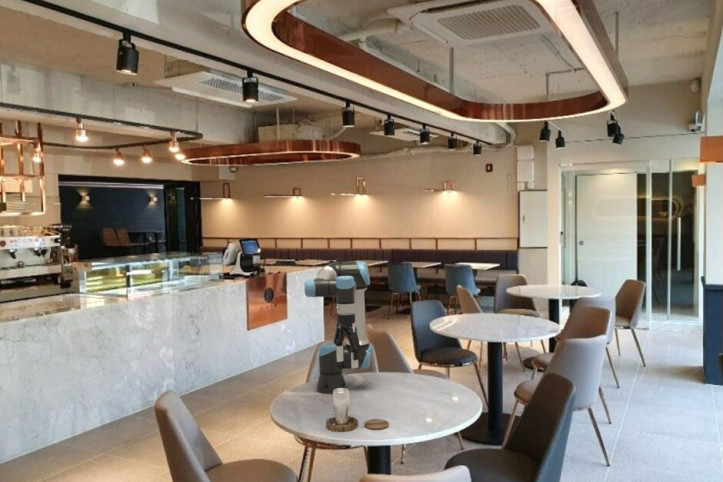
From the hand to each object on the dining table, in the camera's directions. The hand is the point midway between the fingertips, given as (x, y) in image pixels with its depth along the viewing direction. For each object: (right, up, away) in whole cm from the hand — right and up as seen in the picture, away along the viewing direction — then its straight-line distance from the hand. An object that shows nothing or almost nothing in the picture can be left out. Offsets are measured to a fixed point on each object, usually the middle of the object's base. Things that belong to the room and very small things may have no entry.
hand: (347, 364), depth 239 cm
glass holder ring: (-2, -25, 0) cm, 25 cm away
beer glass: (-2, -26, 0) cm, 26 cm away
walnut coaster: (+12, -25, -1) cm, 28 cm away
